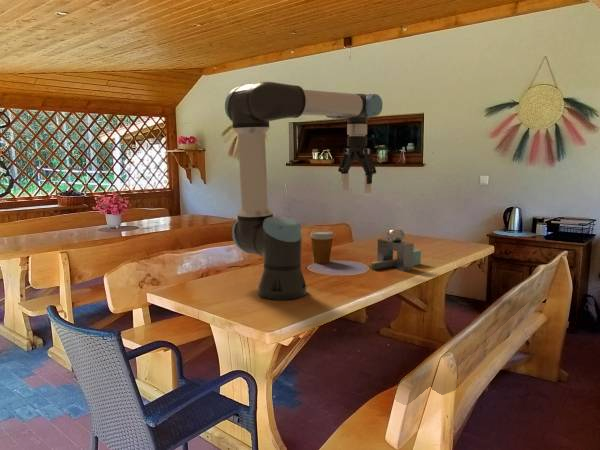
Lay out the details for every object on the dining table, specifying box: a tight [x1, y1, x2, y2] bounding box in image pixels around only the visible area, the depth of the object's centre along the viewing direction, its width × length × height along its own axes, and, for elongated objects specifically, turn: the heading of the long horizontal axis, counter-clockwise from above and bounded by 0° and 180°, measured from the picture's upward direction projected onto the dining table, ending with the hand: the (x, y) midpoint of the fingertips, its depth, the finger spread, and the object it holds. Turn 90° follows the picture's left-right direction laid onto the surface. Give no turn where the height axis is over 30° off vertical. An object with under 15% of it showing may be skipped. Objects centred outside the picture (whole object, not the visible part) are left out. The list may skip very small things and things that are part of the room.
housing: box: [376, 228, 415, 272], centre depth 189 cm, size 5×14×14 cm, turn 32°
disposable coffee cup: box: [309, 230, 335, 264], centre depth 197 cm, size 10×10×12 cm
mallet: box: [370, 249, 422, 271], centre depth 190 cm, size 22×6×6 cm, turn 122°
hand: (356, 191), depth 190 cm, fingers open, 13 cm apart
